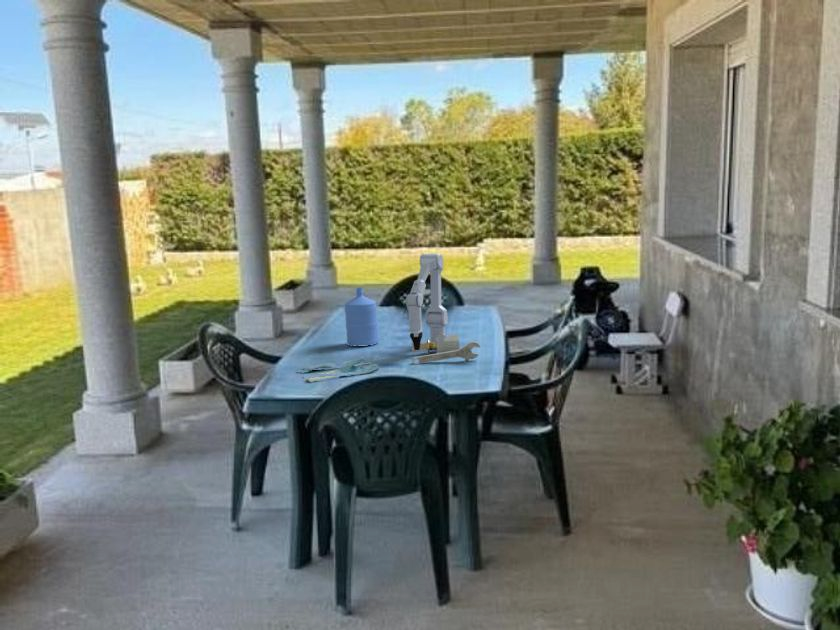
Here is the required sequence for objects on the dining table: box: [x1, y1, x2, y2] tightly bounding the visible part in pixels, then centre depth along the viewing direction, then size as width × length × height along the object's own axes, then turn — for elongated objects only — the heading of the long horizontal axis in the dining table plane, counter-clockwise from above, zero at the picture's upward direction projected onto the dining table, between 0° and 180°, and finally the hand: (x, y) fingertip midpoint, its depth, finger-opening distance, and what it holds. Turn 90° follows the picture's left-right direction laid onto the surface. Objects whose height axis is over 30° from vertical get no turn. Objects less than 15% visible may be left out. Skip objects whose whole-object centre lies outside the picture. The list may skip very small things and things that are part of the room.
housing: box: [436, 333, 460, 354], centre depth 349 cm, size 14×10×7 cm
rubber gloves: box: [298, 356, 380, 382], centre depth 327 cm, size 27×33×6 cm
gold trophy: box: [411, 338, 437, 354], centre depth 349 cm, size 6×14×6 cm, turn 90°
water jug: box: [344, 287, 380, 346], centre depth 377 cm, size 16×16×28 cm
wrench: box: [412, 341, 481, 365], centre depth 332 cm, size 8×2×30 cm
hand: (417, 349), depth 349 cm, fingers closed on gold trophy, 2 cm apart
